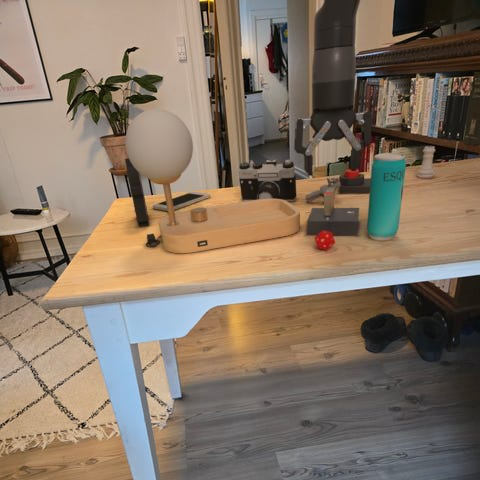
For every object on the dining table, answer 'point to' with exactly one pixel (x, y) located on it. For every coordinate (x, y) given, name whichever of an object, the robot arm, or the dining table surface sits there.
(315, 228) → the dial block
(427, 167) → the rook chess piece
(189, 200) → the smartphone
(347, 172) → the button
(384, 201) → the beverage can
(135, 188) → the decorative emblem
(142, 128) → the lamp
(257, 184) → the camera
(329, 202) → the grey rectangular plate
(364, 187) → the box
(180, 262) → the dining table surface
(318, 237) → the die
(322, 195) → the elephant figurine
